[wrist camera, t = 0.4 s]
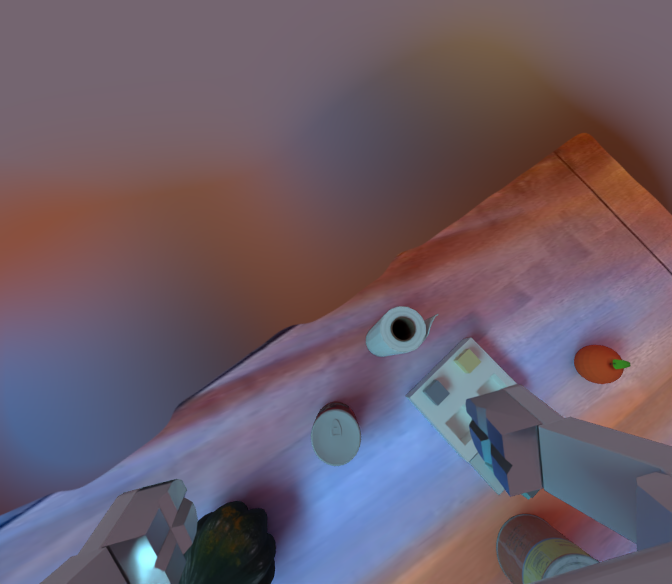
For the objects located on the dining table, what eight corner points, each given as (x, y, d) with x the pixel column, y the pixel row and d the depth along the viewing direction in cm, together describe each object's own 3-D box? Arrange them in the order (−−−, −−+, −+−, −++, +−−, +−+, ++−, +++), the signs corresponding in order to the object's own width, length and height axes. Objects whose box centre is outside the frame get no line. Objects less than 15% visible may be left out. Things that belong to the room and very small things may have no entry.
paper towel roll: (362, 352, 61) (375, 346, 40) (368, 322, 62) (384, 301, 41) (399, 361, 60) (431, 359, 39) (404, 330, 62) (439, 313, 41)
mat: (523, 464, 56) (525, 465, 56) (497, 493, 55) (499, 495, 54) (494, 433, 57) (495, 434, 57) (468, 461, 56) (469, 462, 56)
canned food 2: (573, 581, 52) (641, 644, 40) (509, 598, 52) (559, 667, 40) (549, 506, 55) (606, 545, 43) (487, 522, 54) (528, 565, 42)
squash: (304, 529, 49) (217, 552, 39) (274, 637, 47) (172, 693, 36) (256, 483, 59) (177, 492, 49) (229, 570, 57) (139, 599, 46)
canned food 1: (347, 395, 59) (349, 401, 48) (363, 437, 57) (369, 454, 47) (309, 410, 58) (303, 420, 48) (324, 454, 57) (321, 474, 46)
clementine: (603, 345, 61) (637, 343, 54) (610, 382, 59) (646, 385, 52) (562, 345, 61) (591, 343, 54) (568, 382, 59) (599, 385, 52)
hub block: (518, 394, 59) (536, 397, 53) (460, 456, 56) (472, 466, 51) (463, 338, 61) (475, 336, 56) (405, 396, 59) (412, 399, 54)
